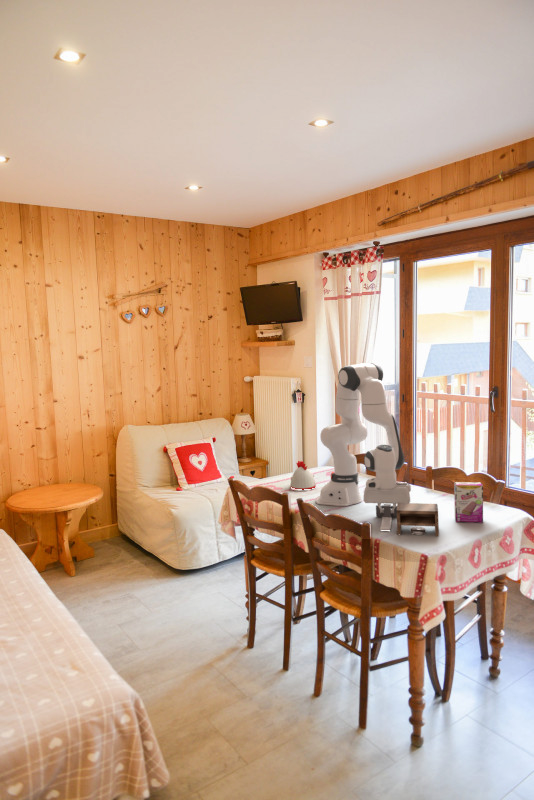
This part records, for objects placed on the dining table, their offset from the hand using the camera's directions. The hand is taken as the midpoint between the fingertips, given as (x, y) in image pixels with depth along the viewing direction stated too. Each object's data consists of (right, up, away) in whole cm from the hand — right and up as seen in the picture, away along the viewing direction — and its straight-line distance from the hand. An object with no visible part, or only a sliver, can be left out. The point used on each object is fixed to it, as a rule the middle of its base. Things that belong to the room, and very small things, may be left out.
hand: (387, 512), depth 240 cm
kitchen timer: (-33, +1, +59) cm, 68 cm away
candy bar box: (+33, -2, -9) cm, 34 cm away
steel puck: (+8, -4, -19) cm, 21 cm away
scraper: (-2, -3, -6) cm, 7 cm away
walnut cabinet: (+9, -4, -18) cm, 20 cm away
